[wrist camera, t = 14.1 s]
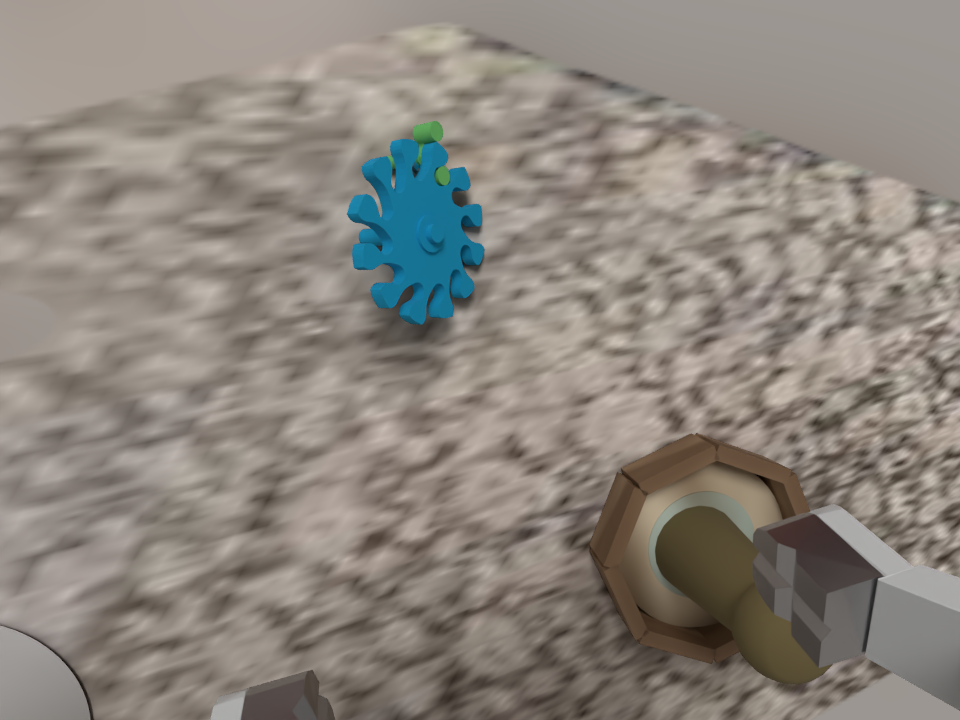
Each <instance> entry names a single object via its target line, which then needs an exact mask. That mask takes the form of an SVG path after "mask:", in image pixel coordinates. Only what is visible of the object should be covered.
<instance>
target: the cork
mask: <svg viewBox="0 0 960 720" xmlns="http://www.w3.org/2000/svg"><path fill="white" fill-rule="evenodd" d="M758 553H759V551H758V550H757V549H756V548H755V546H754V545H753V543H752V542H751V541H750V539H749V538H748V537H747V536H746V535H745V534H744V533H743V532H742V531H741V530H740V529H739V528H738V527H737V526H736V524H735V523H734V522H733V521H732V520H731V519H730V518H729V517H728V516H727V515H726V514H725V513H724V512H722V511H720V510H718V509H716V508H714V507H707V506H695V507H690V508H686V509H684V510H682V511H681V512H679V513H677V514H675V515H674V516H673V517H672V518H671V519H670V520H669V521H668V522H667V523H666V524H665V525H664V526H663V528H662V530H661V532H660V534H659V535H658V537H657V542H656V547H655V557H656V564H657V566H658V568H659V570H660V572H661V574H662V576H663V577H664V578H665V579H666V580H667V581H668V582H669V583H671V584H672V585H673V586H674V587H676V588H677V589H678V590H679V591H681V592H682V593H683V594H684V595H686V596H687V597H688V598H690V599H691V600H692V601H693V602H695V603H696V604H697V605H699V606H700V607H701V608H702V609H704V610H705V611H706V612H707V613H709V614H710V615H711V616H713V617H714V618H715V619H716V620H718V621H719V622H720V623H721V624H723V625H724V626H725V627H727V628H728V629H729V630H730V631H732V635H733V638H734V640H735V642H736V644H737V646H738V648H739V650H740V653H741V655H742V656H743V657H744V658H745V659H746V660H747V662H748V663H749V664H750V665H751V666H752V667H753V668H754V669H755V670H757V671H758V672H759V673H761V674H762V675H764V676H765V677H767V678H770V679H772V680H774V681H777V682H780V683H787V684H802V683H806V682H810V681H812V680H814V679H816V678H818V677H819V676H821V675H823V674H824V673H825V672H826V671H827V670H828V669H829V668H830V667H831V666H832V665H833V664H830V665H827V666H824V667H821V668H818V667H817V666H816V664H815V663H814V662H813V661H812V660H811V658H810V657H809V656H808V655H807V654H806V652H805V651H804V650H803V649H802V648H801V646H800V645H799V644H798V643H797V642H796V640H795V639H794V638H793V637H792V635H791V622H790V621H788V620H785V619H783V618H781V617H779V616H777V615H775V614H773V612H772V611H771V610H770V608H769V607H768V606H767V605H766V603H765V602H764V600H763V599H762V597H761V595H760V594H759V592H758V590H757V587H756V584H755V581H754V579H753V571H752V562H753V561H754V559H755V558H756V556H757V555H758Z"/></svg>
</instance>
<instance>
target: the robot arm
mask: <svg viewBox="0 0 960 720" xmlns="http://www.w3.org/2000/svg"><path fill="white" fill-rule="evenodd" d="M753 545H754V546H755V548H756V549H757V550H758V551H759V553H758V555H757V556H756V558H755V559H754V561H753V562H752V571H753V579H754V581H755V584H756V587H757V590H758V592H759V594H760V595H761V597H762V599H763V600H764V602H765V603H766V605H767V606H768V607H769V608H770V610H771V611H772V612H773V614H775V615H777V616H779V617H781V618H783V619H785V620H788V621H790V622H791V635H792V637H793V638H794V639H795V640H796V642H797V643H798V644H799V645H800V646H801V648H802V649H803V650H804V651H805V652H806V654H807V655H808V656H809V657H810V658H811V660H812V661H813V662H814V663H815V664H816V666H817V667H818V668H821V667H824V666H827V665H830V664H834V663H837V662H840V661H843V660H847V659H850V658H853V657H856V656H859V655H863V654H865V657H866V658H868V659H870V660H872V661H873V662H875V663H877V664H879V665H880V666H882V667H884V668H886V669H887V670H889V671H891V672H893V673H894V674H896V675H898V676H900V677H901V678H903V679H905V680H907V681H909V682H910V683H912V684H914V685H916V686H917V687H919V688H921V689H923V690H924V691H926V692H928V693H930V694H931V695H933V696H935V697H937V698H939V699H940V700H942V701H944V702H945V703H947V704H949V705H951V706H953V707H954V708H956V709H958V710H959V711H960V578H959V577H956V576H953V575H950V574H947V573H944V572H942V571H939V570H936V569H933V568H930V567H927V566H924V565H918V566H915V567H913V566H912V565H911V564H910V563H908V562H907V561H906V560H905V559H904V558H902V557H901V556H900V555H899V554H898V553H896V552H895V551H894V550H893V549H891V548H890V547H889V546H888V545H887V544H885V543H884V542H883V541H882V540H880V539H879V538H878V537H877V536H876V535H874V534H873V533H872V532H871V531H870V530H868V529H867V528H866V527H865V526H863V525H862V524H861V523H860V522H859V521H857V520H856V519H855V518H854V517H853V516H851V515H850V514H849V513H848V512H846V511H845V510H844V509H843V508H841V507H839V506H837V505H834V504H832V505H829V506H826V507H823V508H820V509H816V510H813V511H810V512H807V513H802V514H799V515H796V516H793V517H790V518H787V519H784V520H781V521H778V522H775V523H772V524H769V525H766V526H763V527H760V528H757V529H756V531H755V532H754V534H753ZM0 720H91V719H90V712H89V708H88V704H87V700H86V697H85V695H84V692H83V690H82V688H81V686H80V684H79V682H78V681H77V679H76V677H75V676H74V674H73V673H72V672H71V670H70V669H69V668H68V667H67V666H66V664H65V663H64V662H63V661H62V660H61V659H60V658H59V657H58V656H57V655H56V654H54V653H53V652H52V651H51V650H49V649H48V648H47V647H46V646H44V645H43V644H41V643H39V642H38V641H36V640H34V639H33V638H31V637H29V636H27V635H25V634H23V633H20V632H18V631H15V630H13V629H10V628H7V627H4V626H0ZM210 720H335V717H334V713H333V710H332V707H331V705H330V703H329V701H328V699H327V698H325V697H322V696H320V695H319V681H318V679H317V677H316V676H315V674H314V672H313V670H310V671H306V672H302V673H299V674H295V675H292V676H288V677H285V678H281V679H278V680H274V681H271V682H267V683H264V684H260V685H257V686H253V687H250V688H247V689H244V690H240V691H237V692H234V693H230V694H227V695H224V696H220V697H219V698H218V700H217V702H216V704H215V705H214V707H213V710H212V714H211V718H210Z"/></svg>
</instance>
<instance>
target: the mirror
mask: <svg viewBox="0 0 960 720" xmlns="http://www.w3.org/2000/svg"><path fill="white" fill-rule="evenodd" d="M621 469H622V471H623V474H621V473H618V472H617V475H616V477H615V480H614V482H613V485H612V488H611V490H610V493H609V495H608V498H607V500H606V503H605V506H604V508H603V511H602V513H601V516H600V518H599V521H598V524H597V526H596V529H595V531H594V534H593V536H592V539H591V542H590V544H589V545H590V547H591V548H592V549H590V552H591V554H592V557H593V559H594V561H595V563H596V565H597V567H598V570H599V572H600V574H601V576H602V578H603V580H604V583H605V585H606V587H607V589H608V591H609V593H610V595H611V598H612V600H613V602H614V604H615V606H616V608H617V611H618V613H619V615H620V616H621V618H622V620H623V621H624V623H625V624H626V626H627V627H628V629H629V631H630V632H631V634H632V635H633V637H634V639H635V640H637V641H638V642H639V644H642V645H646V646H649V647H653V648H657V649H660V650H664V651H667V652H671V653H674V654H678V655H681V656H685V657H689V658H692V659H696V660H699V661H703V662H706V663H710V664H712V662H713V660H715V661H716V663H718V662H720V661H722V660H724V659H726V658H728V657H730V656H732V655H734V654H736V653H738V652H740V650H739V648H738V646H737V644H736V642H735V640H734V638H733V635H732V631H730V630H729V629H728V628H727V627H725V626H724V625H723V624H721V623H720V622H719V621H718V620H716V619H715V618H714V617H713V616H711V615H710V614H709V613H707V612H706V611H705V610H704V609H702V608H701V607H700V606H699V605H697V604H696V603H695V602H693V601H692V600H691V599H690V598H688V597H687V596H686V595H684V594H683V593H682V592H681V591H679V590H678V589H677V588H676V587H674V586H673V585H672V584H671V583H669V582H668V581H667V580H666V579H665V578H664V577H663V576H662V574H661V572H660V570H659V568H658V566H657V564H656V557H655V547H656V542H657V537H658V535H659V534H660V532H661V530H662V528H663V526H664V525H665V524H666V523H667V522H668V521H669V520H670V519H671V518H672V517H673V516H674V515H675V514H677V513H679V512H681V511H682V510H684V509H686V508H690V507H695V506H707V507H714V508H716V509H718V510H720V511H722V512H724V513H725V514H726V515H727V516H728V517H729V518H730V519H731V520H732V521H733V522H734V523H735V524H736V526H737V527H738V528H739V529H740V530H741V531H742V532H743V533H744V534H745V535H746V536H747V537H748V538H749V539H750V541H751V542H752V543H753V534H754V532H755V531H756V529H757V528H760V527H763V526H766V525H769V524H772V523H775V522H778V521H781V520H784V519H787V518H790V517H793V516H796V515H799V514H802V513H807V512H810V509H809V507H808V504H807V502H806V499H805V496H804V494H803V491H802V489H801V486H800V483H799V481H798V478H797V476H796V474H795V473H793V472H792V470H791V469H789V468H787V467H785V466H782V465H780V464H778V463H776V462H774V461H772V460H770V459H768V458H766V457H764V456H761V455H758V454H755V453H752V452H749V451H747V450H744V449H741V448H738V447H735V446H732V445H729V444H726V443H724V442H721V441H718V440H715V439H712V438H709V437H706V436H704V435H701V434H698V433H696V435H693V434H689V435H687V436H685V437H683V438H681V439H679V440H677V441H675V442H673V443H671V444H669V445H667V446H665V447H663V448H661V449H659V450H657V451H655V452H653V453H651V454H649V455H647V456H645V457H643V458H641V459H639V460H637V461H635V462H633V463H631V464H629V465H627V466H625V467H623V468H621ZM755 474H757V475H759V477H757V476H756V475H755ZM636 604H637V605H638V606H639V607H640V608H638V607H637V605H636Z"/></svg>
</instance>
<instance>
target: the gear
mask: <svg viewBox="0 0 960 720" xmlns="http://www.w3.org/2000/svg"><path fill="white" fill-rule="evenodd" d="M413 137H414V140H415V141H416V142H415V141H413V140H409V139H401V140H396V141H392V142H391V145H390V151H391V155H392V156H388V157H387V156H386V157H380V158H375V159H371V160H369V161H368V162H366V163H365V164H364V165H363V166H362V172H363V175H364V177H365V178H366V180H367V181H369V182H370V183H371V185H372V186H373V187H374V189H375V190H376V192H377V194H378V196H379V199H380V203H381V207H382V218H381V217H380V215H379V212H378V208H377V204H376V202H375V200H374V199H373V197H371V196H370V195H367V194H364V195H357V196H355V197H354V198H353V199H352V201H351V203H350V206H349V209H348V213H347V215H348V217H349V218H350V220H352V221H353V222H355V223H362V224H365V225H367V226H369V227H370V228H371V229H363V230H362V231H361V232H360V233H359V241H360V244H355V245H353V251H352V256H353V264H354V268H355V269H358V270H372V269H375V268H376V267H377V266H379V265H381V264H386V265H389V266H390V267H392V269H393V271H394V280H393V282H392V283H376V284H374V285H373V286H372V287H371V294H372V297H373V299H374V301H375V303H376V304H377V306H378V307H379V308H393V307H394V306H395V305H396V304H397V302H398V300H399V297H400V296H401V294H402V292H403V291H404V290H405V289H406V288H407V287H408V286H410V285H412V286H413V289H414V294H413V297H412V299H411V300H409V301H407V302H405V303H404V304H402V306H401V307H400V310H399V316H400V317H401V318H402V319H403V320H405V321H406V322H408V323H410V324H420V325H422V324H423V323H424V321H425V319H426V307H427V301H428V298H429V295H430V293H431V291H432V289H433V288H434V297H433V299H432V301H431V302H430V304H429V307H428V313H429V316H430V317H432V318H449V317H452V316H453V312H454V308H453V304H452V302H451V298H450V293H449V285H450V276H451V286H450V290H451V294H452V296H453V297H454V298H466V297H468V296H469V295H470V294H471V293H472V291H473V290H474V283H473V281H472V279H471V278H469V276H468V275H467V274H466V272H465V270H464V268H463V264H462V260H461V255H462V259H463V262H464V263H465V264H466V265H479V264H480V263H481V261H482V258H483V254H484V247H483V246H482V245H481V244H480V243H474V242H472V241H471V240H470V239H469V238H468V237H467V236H466V235H465V233H464V231H463V230H462V227H461V222H462V223H463V225H464V226H466V227H474V226H480V225H481V223H482V209H481V206H480V205H479V204H472V205H465V206H463V207H462V208H461V207H459V206H457V205H455V204H454V202H453V200H452V191H453V192H457V191H465V190H468V189H469V188H470V180H469V176H468V174H467V171H466V169H465V167H461V168H454V169H450V170H449V171H448V169H447V168H446V167H445V166H444V165H445V164H446V163H447V160H448V154H447V152H446V151H445V149H444V148H443V147H442V146H441V145H440V144H439V143H437V141H440V140H441V139H442V137H443V129H442V126H441V125H440V123H439V122H437V121H433V122H429V123H424V124H420V125H416V126H415V127H414V129H413ZM432 142H433V143H432ZM392 169H396V182H395V188H394V190H393V188H392V185H391V177H392ZM376 246H382V251H381V252H380V250H379V249H378V248H377V247H376ZM460 251H461V255H460Z"/></svg>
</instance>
